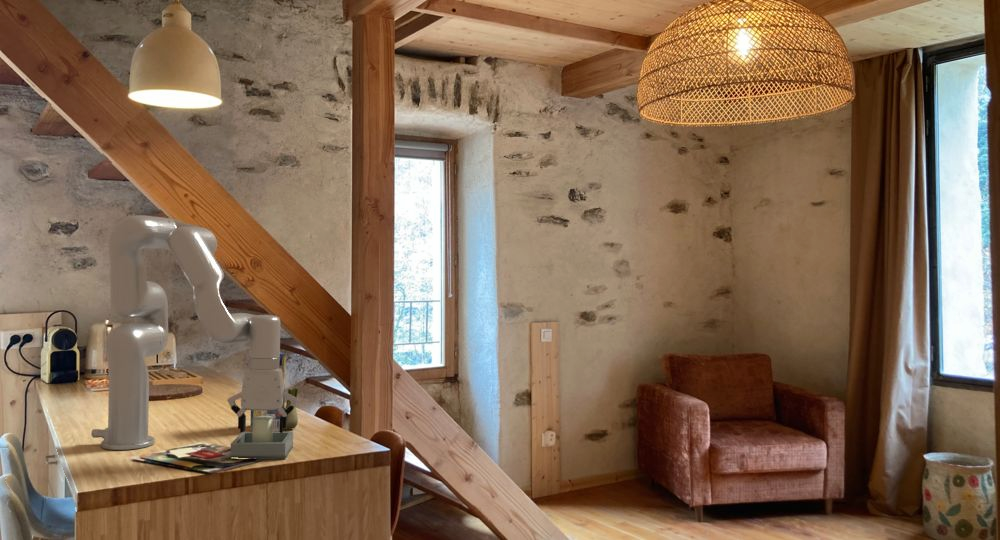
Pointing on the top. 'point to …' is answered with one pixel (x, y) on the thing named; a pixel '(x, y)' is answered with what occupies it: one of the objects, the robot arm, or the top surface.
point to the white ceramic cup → (262, 429)
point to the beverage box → (272, 413)
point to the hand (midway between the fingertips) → (262, 431)
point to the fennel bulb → (292, 416)
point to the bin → (262, 447)
